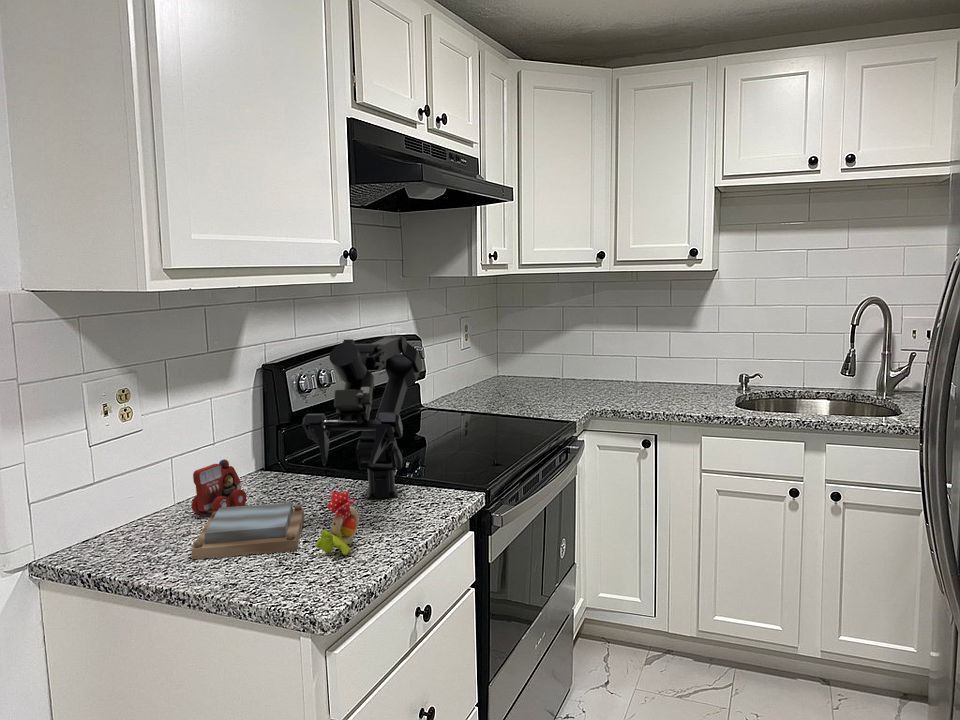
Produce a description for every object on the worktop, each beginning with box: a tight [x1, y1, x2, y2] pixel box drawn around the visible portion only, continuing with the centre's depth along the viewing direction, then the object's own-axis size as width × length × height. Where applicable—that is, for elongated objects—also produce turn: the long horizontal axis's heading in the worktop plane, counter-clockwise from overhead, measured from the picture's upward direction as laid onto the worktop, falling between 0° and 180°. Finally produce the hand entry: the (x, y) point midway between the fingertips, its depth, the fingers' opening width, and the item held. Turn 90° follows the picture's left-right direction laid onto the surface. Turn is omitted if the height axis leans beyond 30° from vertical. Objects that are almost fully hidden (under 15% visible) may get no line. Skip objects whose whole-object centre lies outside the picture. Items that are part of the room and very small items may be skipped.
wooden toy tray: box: [190, 501, 305, 561], centre depth 140 cm, size 18×18×4 cm
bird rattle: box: [314, 491, 360, 556], centre depth 133 cm, size 6×11×9 cm
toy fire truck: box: [191, 459, 247, 515], centre depth 156 cm, size 7×12×10 cm, turn 158°
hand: (347, 464), depth 139 cm, fingers open, 9 cm apart
